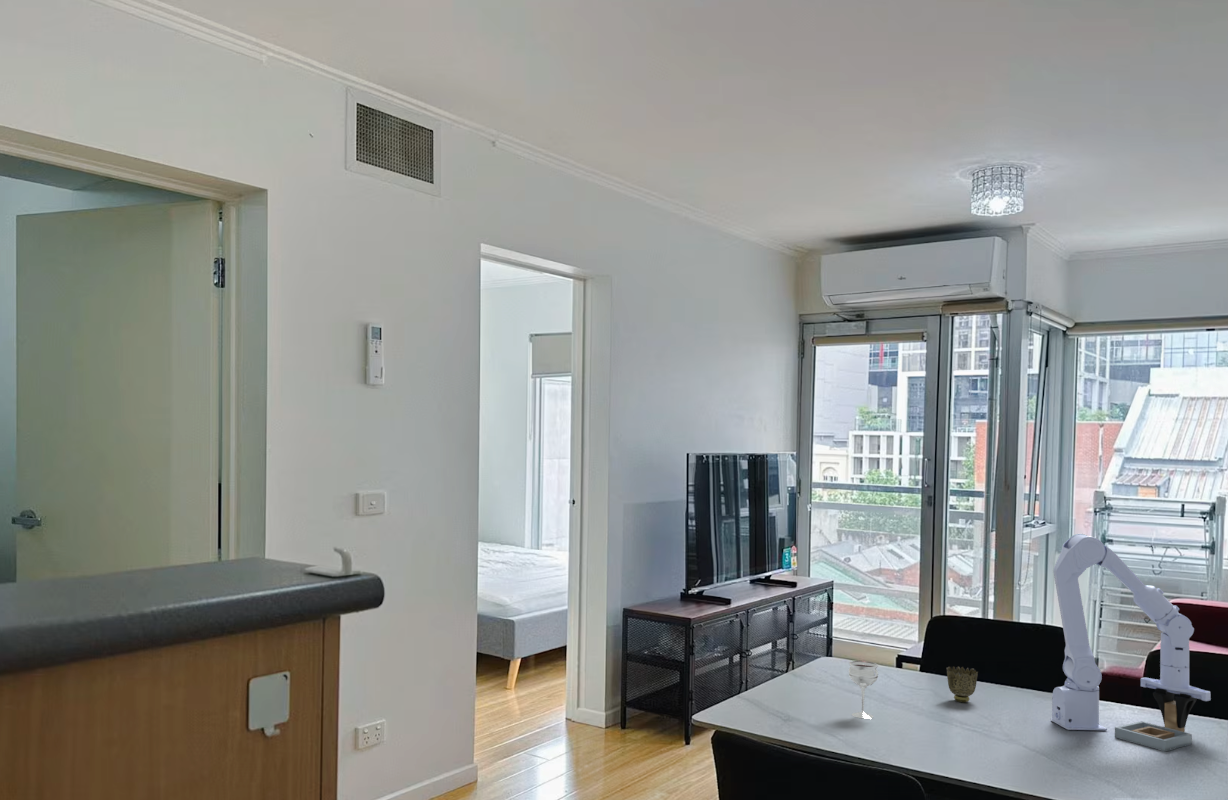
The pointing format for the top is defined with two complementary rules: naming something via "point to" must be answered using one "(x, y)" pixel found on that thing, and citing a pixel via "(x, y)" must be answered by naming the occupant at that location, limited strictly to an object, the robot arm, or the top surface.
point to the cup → (961, 682)
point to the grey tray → (1153, 736)
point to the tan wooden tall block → (1171, 716)
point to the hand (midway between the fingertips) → (1174, 725)
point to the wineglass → (863, 680)
